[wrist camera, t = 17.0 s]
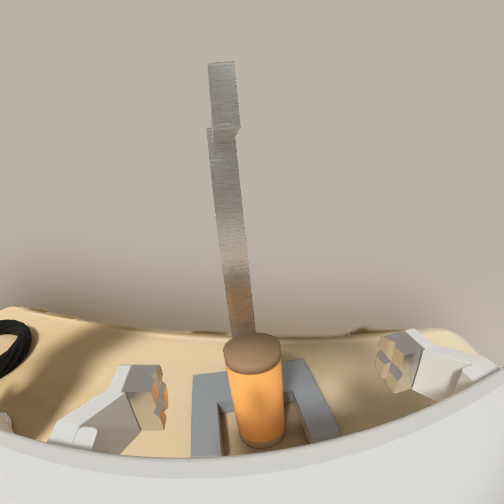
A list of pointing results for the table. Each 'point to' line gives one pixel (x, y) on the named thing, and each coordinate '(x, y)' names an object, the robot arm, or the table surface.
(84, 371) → the table surface
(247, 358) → the orange brown canister
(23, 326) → the cable lock
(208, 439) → the grey u-shaped bracket
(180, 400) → the table surface
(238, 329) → the hook stand
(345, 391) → the table surface
